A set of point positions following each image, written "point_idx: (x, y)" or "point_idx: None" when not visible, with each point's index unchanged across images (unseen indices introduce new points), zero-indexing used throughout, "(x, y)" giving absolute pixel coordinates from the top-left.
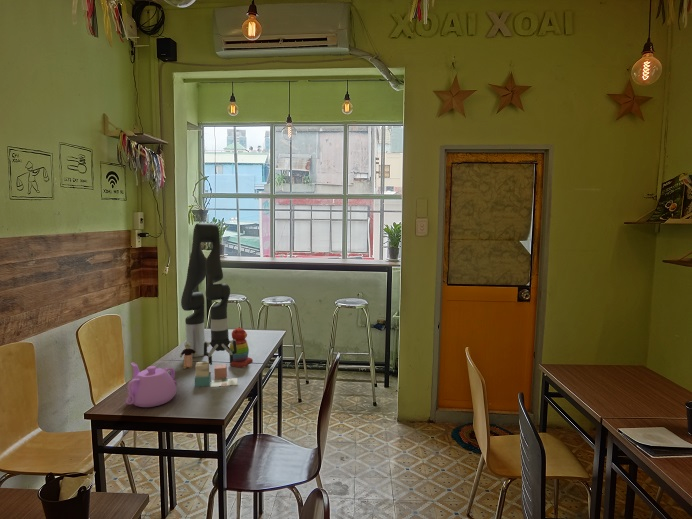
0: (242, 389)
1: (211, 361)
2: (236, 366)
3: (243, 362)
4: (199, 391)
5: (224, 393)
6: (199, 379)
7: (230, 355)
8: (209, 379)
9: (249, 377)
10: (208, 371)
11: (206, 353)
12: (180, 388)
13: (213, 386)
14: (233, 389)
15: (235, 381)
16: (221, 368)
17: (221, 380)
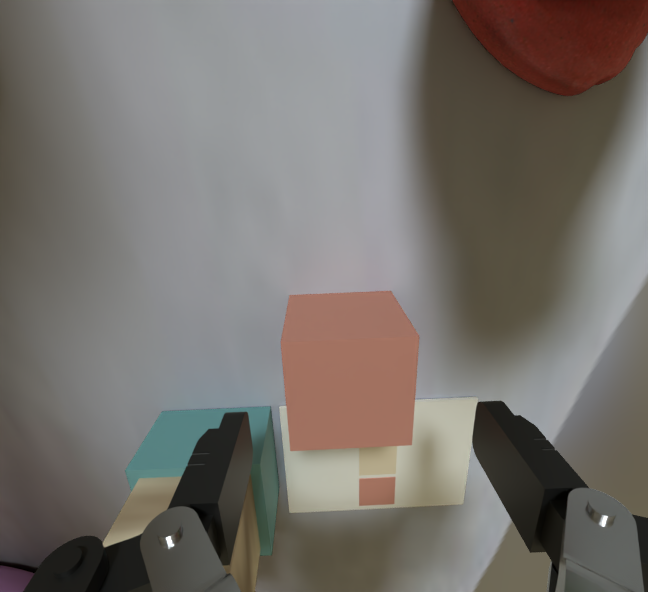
0: (487, 556)
1: (243, 497)
2: (501, 60)
3: (622, 31)
4: None
5: (383, 586)
6: None
7: (544, 549)
8: (274, 527)
9: (568, 387)
10: (251, 553)
11: None
12: (86, 499)
13: (308, 510)
14: (435, 550)
15: (456, 455)
16: (364, 443)
17: None
